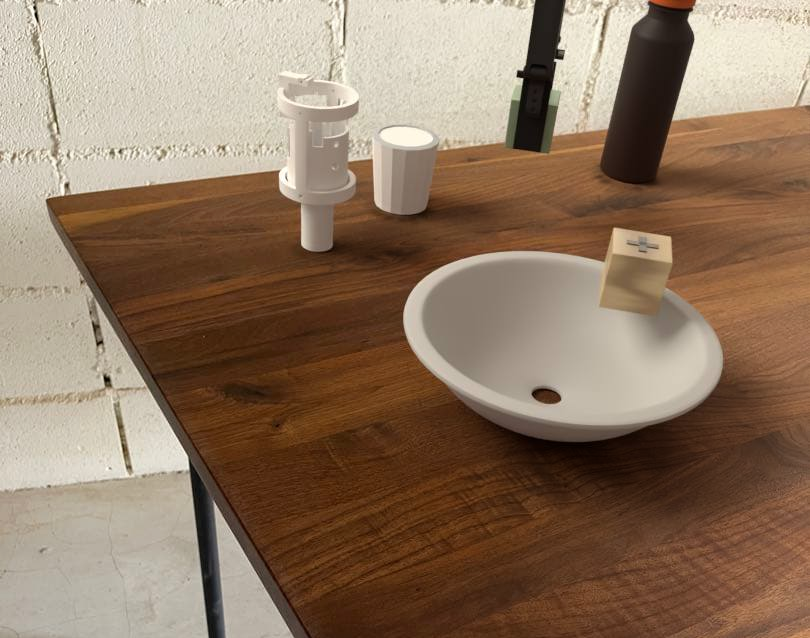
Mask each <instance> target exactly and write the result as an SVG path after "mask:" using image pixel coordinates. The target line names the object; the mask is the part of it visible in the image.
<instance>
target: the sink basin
mask: <svg viewBox="0 0 810 638" xmlns="http://www.w3.org/2000/svg"><path fill="white" fill-rule="evenodd" d="M604 263H605V261H601V260H597V259H593V258H590V257H589V258H588V257H584V256H579V255H574V254H569V253H568V254H567V253H559V252H551V251H540V250H539V251H536V250H535V251H534V250H511V251H497V252H490V253H483V254H478V255H472V256H468V257H466V258H461V259H459V260H455V261H453V262H450V263H448V264H445V265H443V266H440V267H439V268H437V269H435V270H434V271H432V272H431V273H429V274H427V275H426V276H425V277H424V278H423V279H421V280H420V281H419V282H418V283H417V284H416V286H414V288H413V289H412V291H411V292H410V294H409V295H408V296H407V297H408V298H407V300H406V302H405V305H404V308H403V315H402V317H403V319H402V322H403V329H404V334H405V337H406V339H407V342H408V344H409V346H410V348H411V350H412V352H413V353H414V354H415V356H416V357H417V358H418V360H419V361H420V362H421V364H423V366H424V367H425V368H426V369H427V370H428V371H429V372H430V373H431V374H432V375H434V376H435V377H436V378H438V380H439V381H441V382H442V383H444V384H445V386H446V387H447V388H448V389H449V390H450V391H451V393H452V394H454V396H455V397H457V398H458V400H460V401H461V402H462V403H463V404H465V405H466V406H467V407H468V408H470V409H471V410H472V411H473V412H475V413H476V414H478V415H480V416H481V417H482V418H484V419H486V420H488V421H490V422H491V423H494V424H495V425H497V426H500V427H502V428H504V429H506V430H510V431H512V432H515V433H517V434H520V435H524V436H527V437H530V438H535V439H541V440H545V441H552V442H563V443H564V442H565V443H585V442H586V443H587V442H596V441H605V440H609V439H615V438H618V437H621V436H622V437H623V436H626V435H628V434H631V433H635V432H637V431H639V430H641V429H644V428H646V427H648V426H652V425H657V424H660V423H664V422H668V421H671V420H673V419H675V418H678V417H680V416H682V415H685V414H686V413H688V412H690V411H692V410H693V409H695V408H697V407H698V406H699V405H701V404H702V403H703V402H704V401H705V400H706V399H707V398H708V397H710V395H711V394H712V392H713V391H714V390H715V389H716V388H717V385H718V383H719V382H720V380H721V377H722V373H723V367H724V355H723V354H724V353H723V348H722V346H721V342H720V340H719V338H718V335H717V333H716V331H715V330H714V328H713V327H712V326H711V324H710V323H709V322H708V320H707V319H706V318H705V316H703V315H702V314H701V313H700V311H698V309H697V308H695V307H694V306H693V305H692V304H690V302H688V301H687V300H686V299H684V298H683V297H681V296H680V295H679V294H677V293H675V292H674V291H672V290H671V289H670V288H667V286H666V287H665V290H664V293H663V296H662V299H661V302H660V306H659V309H658V312H657V315H656V316H649V315H643V314H637V313H632V312H626V311H620V310H614V309H608V308H602V307H599V306H598V305H599V290H600V278H601V274H602V271H603V267H604ZM539 389H544V390H550V391H553V392H556V393H557V394H558V395H559V396H560V401H558V402H556V403H544V402H541V401H539V400H537V399H535V397H534V396H533V395H532V394H533V392H534V391H536V390H539Z"/></svg>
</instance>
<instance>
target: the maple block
mask: <svg viewBox="0 0 810 638" xmlns="http://www.w3.org/2000/svg"><path fill="white" fill-rule="evenodd" d="M672 241H673V240H672V236H668V235H663V234H657V233H650V232H646V231H638V230H632V229H626V228H621V227H613V228H612V232H611V237H610V240H609V243H608V247H607V251H606V255H605V259H604V262H605V263H604V267H603V271H602V274H601V278H600V290H599V305H598V306H599V307H602V308H608V309H614V310H620V311H626V312H632V313H637V314H643V315H649V316H656V315H657V312H658V309H659V306H660V302H661V299H662V296H663V293H664V290H665V287H666V288H667V283H668V280H669V277H670V274H671V271H672V267H673V265H674V261H673V244H672Z"/></svg>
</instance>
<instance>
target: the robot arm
mask: <svg viewBox="0 0 810 638" xmlns="http://www.w3.org/2000/svg"><path fill="white" fill-rule="evenodd" d="M566 3H567V0H534V5H533V13H532V18H531V25H530V32H529V39H528V44H527V45H528V46H527V52H526V60H525V65H524V66H523V70H521V69H517V70H516V78H517V79H522V84H521V85H522V90H521V97H520V103H519V110H518V117H517V124H516V130H515V137H514V144H513V150H516V151H517V150H518V151H525V152H533V153H538V154H540V151H541V146H542V140H543V134H544V128H545V122H546V117H547V111H548V105H549V99H550V93H551V90H553V85H554V81H555V73H556V69H557V63H558V62H557V61H555V60H558V61H564V59H565V52H566V49H561V48H559V45H560V43H561V42H562V41H561V40H562V36H561V32H562V27H563V20H564V15H565V10H566V9H565V7H566Z"/></svg>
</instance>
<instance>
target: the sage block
mask: <svg viewBox="0 0 810 638" xmlns="http://www.w3.org/2000/svg"><path fill="white" fill-rule="evenodd" d="M521 90H522V84H521V85H520V84H515V86H514V89H513V92H512V96H511V99H510V105H509V110H508V117H507V124H506V132H505V139H504V148H505V149H511V150H512V149H513V144H514V137H515V130H516V124H517V117H518V110H519V103H520V97H521ZM561 95H562V91H561V90H558V89H552V90H551V93H550V99H549V105H548V111H547V117H546V122H545V128H544V134H543V140H542V146H541V151H540V153H541V154H546V155H547V154H548V155H549V154H550V153H551V148H552V143H553V138H554V132H555V128H556V122H557V116H558V111H559V105H560V100H561ZM513 150H514V149H513ZM540 153H539V154H540Z"/></svg>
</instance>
